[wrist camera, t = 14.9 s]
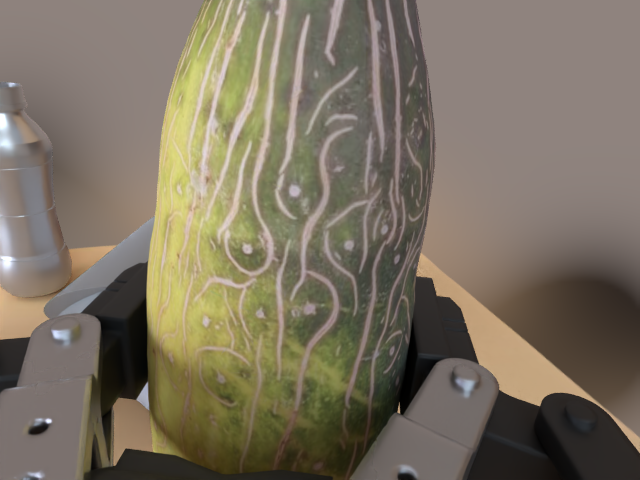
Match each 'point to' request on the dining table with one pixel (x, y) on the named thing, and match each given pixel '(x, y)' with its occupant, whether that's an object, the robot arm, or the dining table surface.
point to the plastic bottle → (28, 204)
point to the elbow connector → (104, 279)
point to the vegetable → (288, 233)
